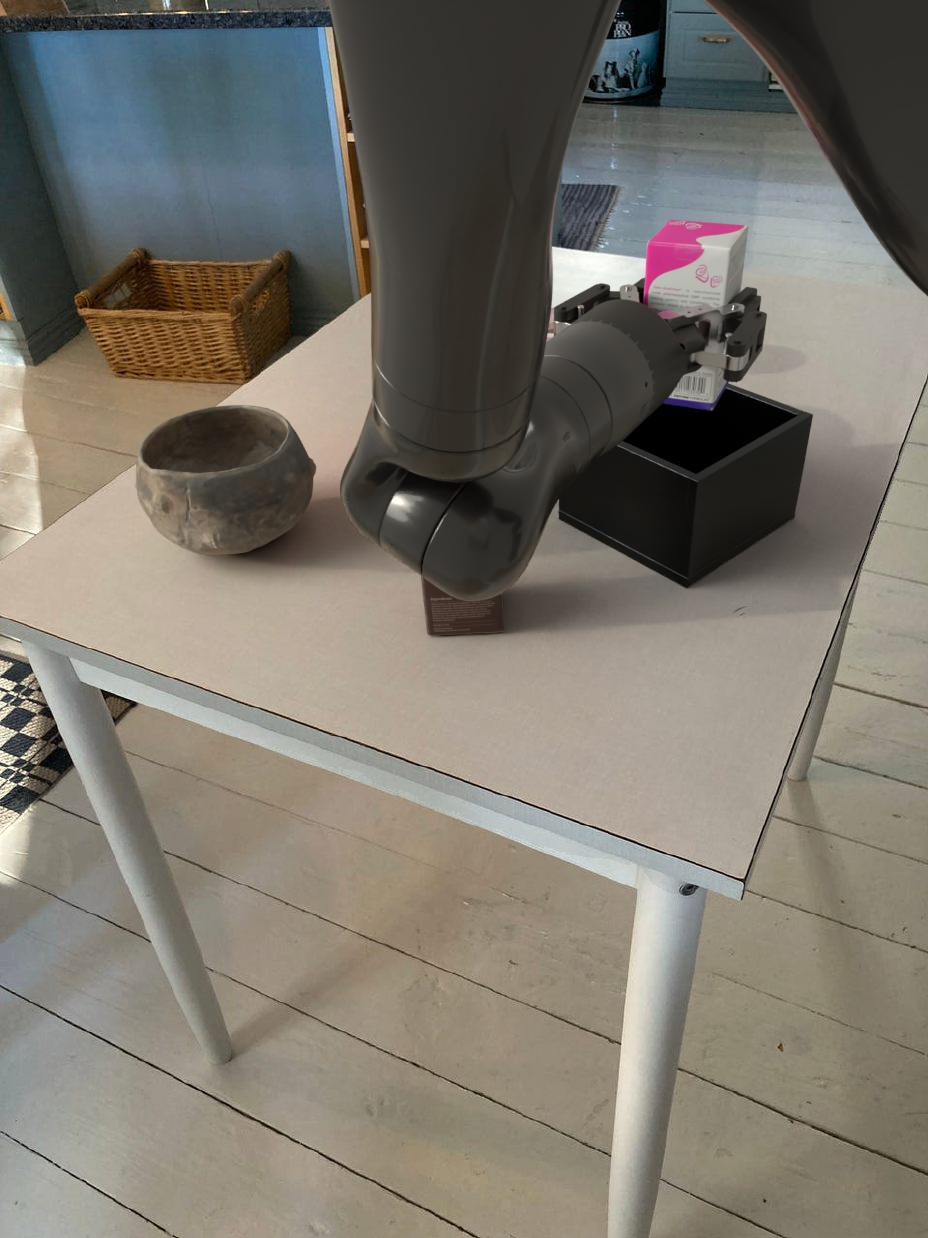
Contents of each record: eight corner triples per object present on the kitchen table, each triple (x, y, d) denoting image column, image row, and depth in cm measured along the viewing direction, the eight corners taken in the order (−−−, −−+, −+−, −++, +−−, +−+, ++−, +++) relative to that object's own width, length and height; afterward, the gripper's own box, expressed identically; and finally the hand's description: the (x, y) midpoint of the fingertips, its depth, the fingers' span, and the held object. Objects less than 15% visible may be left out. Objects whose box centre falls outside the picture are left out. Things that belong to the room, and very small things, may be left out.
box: (503, 635, 77) (500, 557, 72) (426, 638, 77) (417, 561, 72) (502, 587, 82) (499, 512, 77) (429, 590, 82) (421, 515, 77)
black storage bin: (794, 517, 87) (813, 414, 81) (686, 588, 80) (697, 481, 74) (665, 459, 96) (673, 362, 90) (558, 519, 89) (558, 418, 83)
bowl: (131, 533, 91) (100, 436, 85) (278, 474, 98) (259, 380, 92) (197, 604, 82) (167, 501, 76) (354, 533, 89) (339, 433, 83)
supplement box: (731, 378, 75) (752, 222, 68) (712, 412, 71) (732, 250, 64) (657, 367, 77) (669, 215, 70) (634, 400, 73) (645, 241, 66)
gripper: (712, 346, 55) (812, 254, 66) (494, 303, 62) (617, 226, 73) (699, 464, 60) (794, 361, 71) (498, 412, 67) (613, 325, 77)
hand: (704, 293), depth 72 cm, fingers closed on supplement box, 6 cm apart
